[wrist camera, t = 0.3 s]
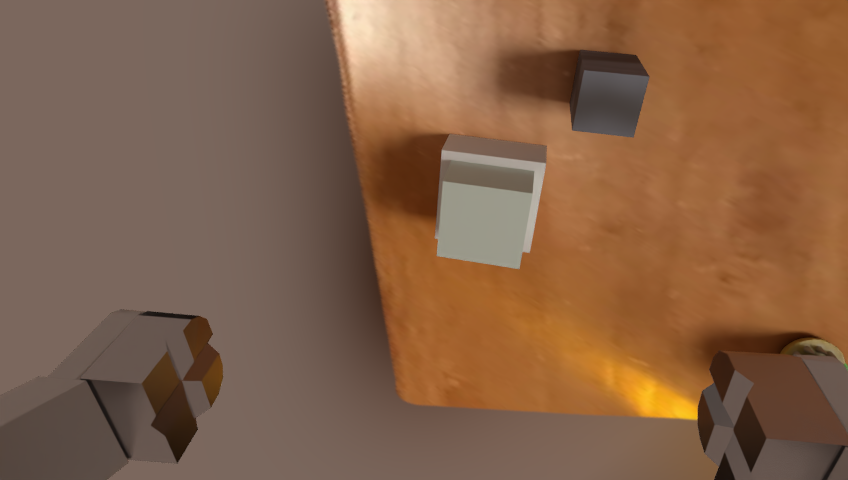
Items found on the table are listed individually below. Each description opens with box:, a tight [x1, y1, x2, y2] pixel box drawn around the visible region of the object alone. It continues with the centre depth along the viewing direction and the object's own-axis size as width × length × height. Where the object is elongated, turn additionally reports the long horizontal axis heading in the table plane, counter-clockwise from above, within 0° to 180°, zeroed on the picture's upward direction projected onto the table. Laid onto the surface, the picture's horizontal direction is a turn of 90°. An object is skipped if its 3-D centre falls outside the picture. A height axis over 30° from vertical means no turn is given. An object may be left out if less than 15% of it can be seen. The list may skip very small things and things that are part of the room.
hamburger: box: [780, 337, 848, 370], centre depth 56 cm, size 8×7×12 cm
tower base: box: [435, 134, 547, 253], centre depth 57 cm, size 10×10×5 cm
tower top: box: [437, 160, 534, 269], centre depth 52 cm, size 8×8×5 cm
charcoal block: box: [570, 50, 649, 137], centre depth 48 cm, size 5×5×8 cm
